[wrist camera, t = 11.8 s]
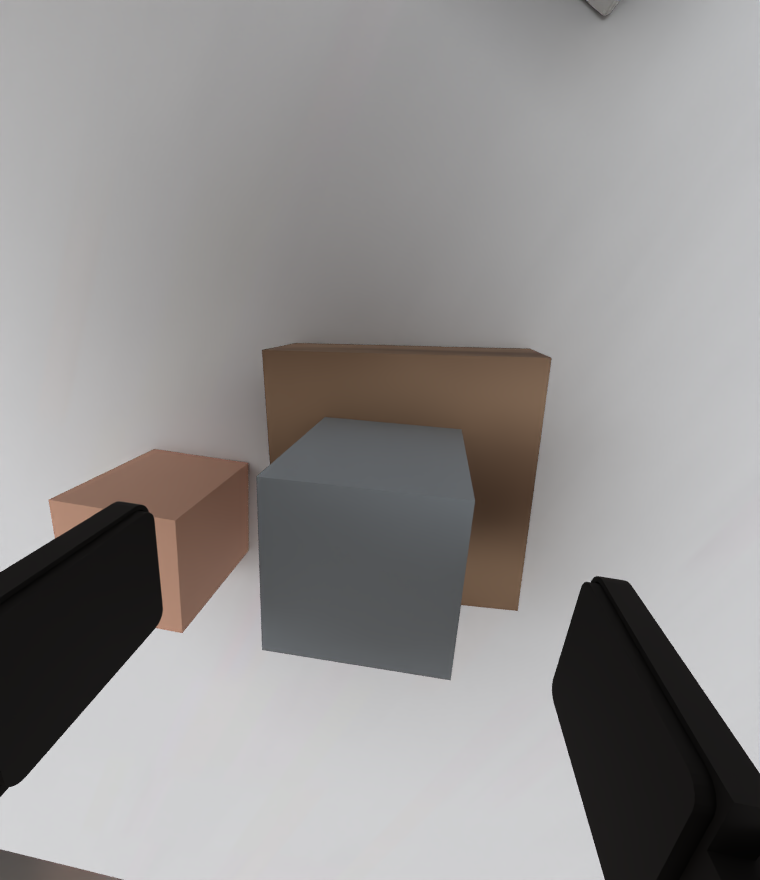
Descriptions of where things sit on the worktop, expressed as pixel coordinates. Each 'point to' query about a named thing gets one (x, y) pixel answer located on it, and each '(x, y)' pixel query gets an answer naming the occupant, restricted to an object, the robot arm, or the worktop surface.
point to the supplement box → (603, 5)
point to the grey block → (366, 545)
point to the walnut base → (435, 405)
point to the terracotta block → (175, 521)
